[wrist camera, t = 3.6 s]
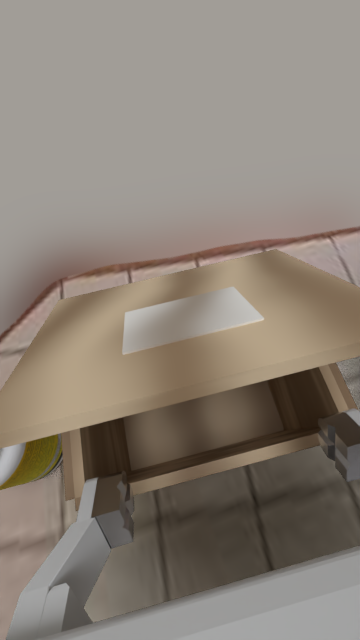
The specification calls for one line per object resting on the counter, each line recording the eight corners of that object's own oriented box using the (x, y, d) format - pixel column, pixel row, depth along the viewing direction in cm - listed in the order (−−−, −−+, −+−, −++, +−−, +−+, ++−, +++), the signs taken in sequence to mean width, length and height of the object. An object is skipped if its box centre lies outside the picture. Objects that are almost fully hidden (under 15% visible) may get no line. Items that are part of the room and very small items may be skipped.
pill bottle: (74, 410, 28) (7, 396, 18) (65, 479, 26) (-18, 507, 16) (15, 411, 29) (-84, 397, 19) (1, 480, 26) (-122, 507, 16)
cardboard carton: (253, 321, 31) (286, 258, 20) (296, 433, 26) (368, 431, 15) (104, 358, 30) (53, 313, 19) (121, 480, 26) (66, 513, 15)
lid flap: (276, 257, 20) (276, 247, 20) (432, 337, 10) (437, 319, 9) (62, 308, 19) (58, 298, 19) (-23, 454, 9) (-35, 439, 9)
